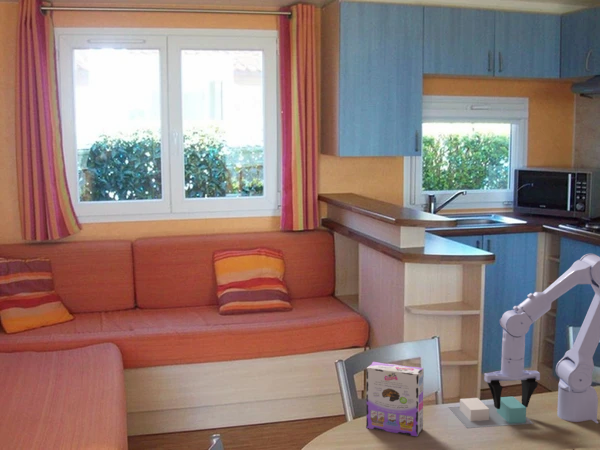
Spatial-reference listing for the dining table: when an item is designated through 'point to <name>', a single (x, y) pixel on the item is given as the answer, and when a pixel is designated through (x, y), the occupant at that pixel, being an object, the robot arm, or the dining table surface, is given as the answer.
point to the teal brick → (512, 410)
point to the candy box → (394, 398)
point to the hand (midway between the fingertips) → (510, 406)
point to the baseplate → (488, 423)
